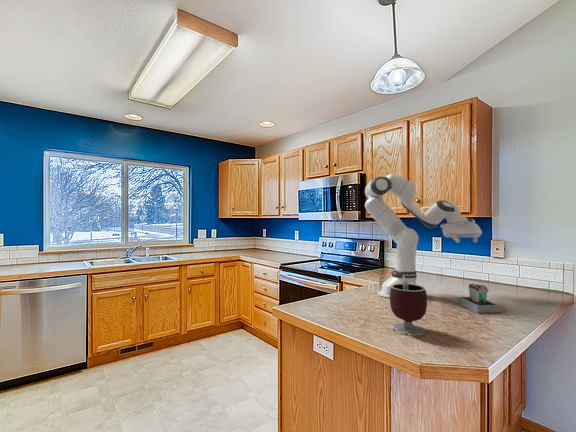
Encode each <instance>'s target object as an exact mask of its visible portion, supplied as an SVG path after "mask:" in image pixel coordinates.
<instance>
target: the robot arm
mask: <svg viewBox="0 0 576 432" xmlns="http://www.w3.org/2000/svg"><path fill="white" fill-rule="evenodd" d="M416 191H417V190H416V186H415V184H414V183H412V181H410V180H408V179H406V178H404V177H403V176H399V175H398V174H395V173H389V174H387V175H386V176H377V177H374V178H373V179H371V180H370V181H369V182H368V183H367V184H366V185H365V187H364V191H363V194H364V196H365V198H366V201H365V203H364V208H365V210H366V211H367V213H368V214H369V216H370V217H372V219H373V220H374V221H375V222H376V223H377V224H378V225H379V226H380V227H381V228H382V229H383V230H384V231H385V233H386V234H387V235H388V236H389V237H390V238H391V239H392V241H393V242H394V243H395V244H396V251H395V255H394V263H395V264H394V270H392V269H390V270H389V274H390V275H391V276H390V277H389V278H388V279H386V280H385V281H383V282H382V285H381V290H380V289H379V290H378V291H377V294H378V295H379V296H380V297H382V296H383V298H385V297H386V299H390V290H391V285H394V284H403V276H404V277H405V278H406V280H407V282H408V284H413V285H417V279H418V278H417V270H416V254H417V250H418V249H417V248H418V242H419V235H418V232H417V231H416V230H414V229H412V228H409V227H407V226H406V225H405V223H404V222H403V221H402V220H401V219H400V217H399V216H398V215H397V214H396V213H395V211H394V210H393V209H392V208H390V207H389V205H388V204H387V203H385V201H384V199H383V196H384V195H386V194H387V193H391V194H393V195H394V196H396V197H397V198H398V199H399V200H400V204H401V205H402V207H403V208H404V209H406V211H408V212H409V213H410V214H411V215H413V216H414V217H415V218H416V219H418V220H419V221H420V223H422V224H423V226H425V227H426V228H428V229H436V228H437V227H438V226H439V225H440V229H441V230H442V234H443V236H444V237H445V238H451V239H452V240H454V241H455V243H460V242H461V239H460V238H472V242H473V244H474V243H476V244H477V242H478V238H480V237H481V236H482V234H483V230H482V229H481V228H480V226H479V225H478V224H477V223H476V221H475V220H474V219H473V218H468V217H465V216H463V215H462V214H461V210H460V209H459V207H458V206H457V205H456V204H455V203H454V202H453V201H451V200H437V201H436V202H435V203H434V204H432V205H431V206H430V208H429V209H427V211H426V212H424V211H422V210H421V209H420V208H419V207H418V206H417V205H415V203H414V200H415V196H416V193H417V192H416ZM444 219H445V220H446V223H441V222H442V221H443V220H444ZM440 223H441V224H440Z"/></svg>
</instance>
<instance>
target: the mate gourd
mask: <svg viewBox="0 0 576 432" xmlns="http://www.w3.org/2000/svg"><path fill="white" fill-rule="evenodd" d="M427 295H428V294H427V291H426V287H425V286H423V285H418V284H416V285H413V284H408V282H407V280H406V278H405V277H404V276H403V284H394V285H391V290H390V298H389V305H390V309H391V312H392V313H393V315H394V316H395V317H396V318H398V319H400V320H402V321H404V322H401V323H399V322H398V323H395V324H393V325H392V326H394V328H393V329H394V330H396V331H398V332H401V333H404V334H411V335H420V334H423V335H425V334H426V329H425V328H424V327H422V326H420V325H417V324H415V323H414V324H413V322H416V321H419V320H421V319H423V317H424V316H425V315H426V314H427V307H428V297H427ZM395 328H397V329H395ZM393 329H392V330H393ZM424 333H425V334H424ZM420 336H421V335H420Z"/></svg>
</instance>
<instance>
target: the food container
mask: <svg viewBox="0 0 576 432" xmlns="http://www.w3.org/2000/svg"><path fill="white" fill-rule="evenodd" d="M468 290H469V293H468V294H469V297H470V302H472V303H474V304H476V305H486V300H487V298H488V297H487V295H488V293H489V289H488V287H487V286H486V285H481V284H477V283H468Z"/></svg>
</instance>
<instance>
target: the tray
mask: <svg viewBox="0 0 576 432" xmlns="http://www.w3.org/2000/svg"><path fill="white" fill-rule="evenodd" d="M457 304H458V305H461V306H462V307H464V308H466V309H468V310H470V311H472V312H475V313H476V314H501V305H499V304H497V303H495V302H492V301H490V300H487V299H486V305H476V304H474V303H472V302H470V296H457Z"/></svg>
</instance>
